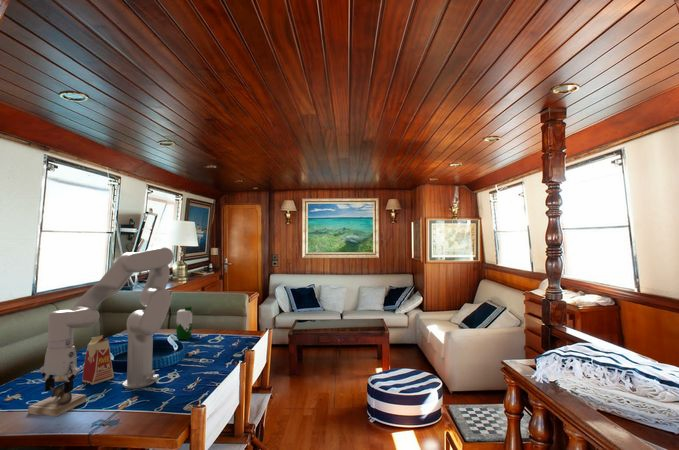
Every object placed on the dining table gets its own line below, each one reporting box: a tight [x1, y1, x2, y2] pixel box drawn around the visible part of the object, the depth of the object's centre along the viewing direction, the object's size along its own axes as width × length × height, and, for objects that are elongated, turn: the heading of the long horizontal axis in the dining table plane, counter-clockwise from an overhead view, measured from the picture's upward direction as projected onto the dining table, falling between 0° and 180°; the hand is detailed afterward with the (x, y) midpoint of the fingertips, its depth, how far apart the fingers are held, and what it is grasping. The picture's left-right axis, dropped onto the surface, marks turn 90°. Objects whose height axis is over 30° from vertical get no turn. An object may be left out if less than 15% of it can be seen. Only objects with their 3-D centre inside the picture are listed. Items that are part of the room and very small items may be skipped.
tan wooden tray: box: [27, 393, 87, 417], centre depth 132 cm, size 12×12×3 cm
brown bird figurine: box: [50, 383, 73, 406], centre depth 131 cm, size 8×7×9 cm
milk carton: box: [82, 334, 115, 386], centre depth 159 cm, size 9×9×20 cm
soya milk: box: [176, 305, 193, 340], centre depth 228 cm, size 9×9×20 cm
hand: (59, 390), depth 132 cm, fingers open, 7 cm apart
